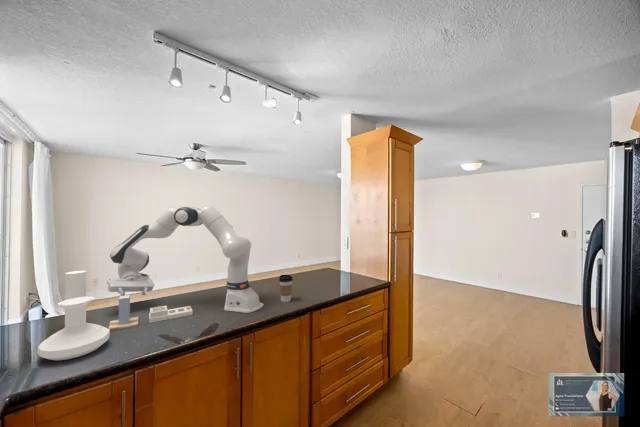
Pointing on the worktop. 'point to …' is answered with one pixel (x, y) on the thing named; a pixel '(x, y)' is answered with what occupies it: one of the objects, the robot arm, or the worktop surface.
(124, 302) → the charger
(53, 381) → the worktop surface
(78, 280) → the cylindrical container
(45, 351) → the candle holder
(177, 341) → the worktop surface
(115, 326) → the oak pad
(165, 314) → the power strip
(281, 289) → the coffee cup
